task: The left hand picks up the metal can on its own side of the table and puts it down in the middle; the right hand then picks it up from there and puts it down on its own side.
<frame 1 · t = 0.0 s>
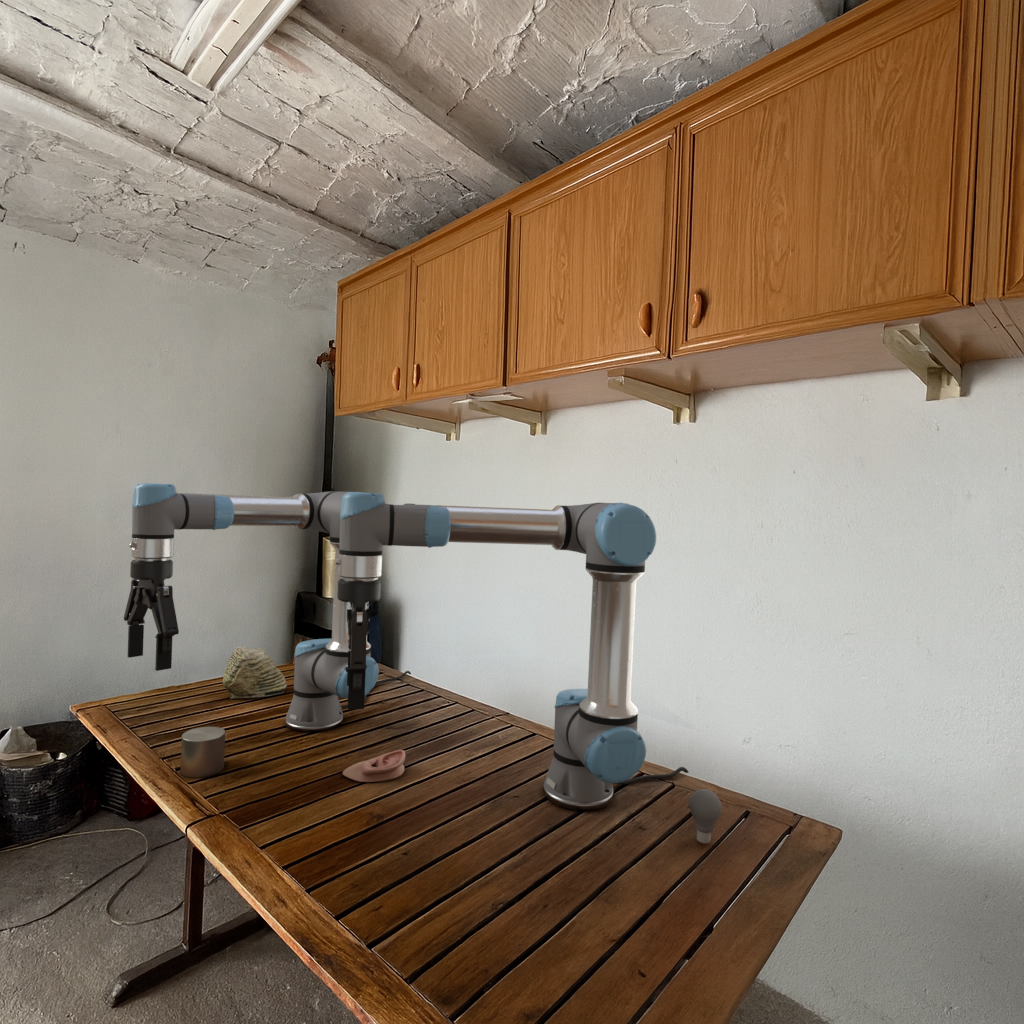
left hand: (148, 662, 129), 28 cm above the table, tool pointing down, fingers open, 13 cm apart
right hand: (355, 696, 114), 28 cm above the table, tool pointing down, fingers open, 13 cm apart
anatomical model: (374, 772, 146), on the table
can: (202, 768, 145), on the table
fossil: (254, 694, 198), on the table
light bulb: (703, 842, 122), on the table
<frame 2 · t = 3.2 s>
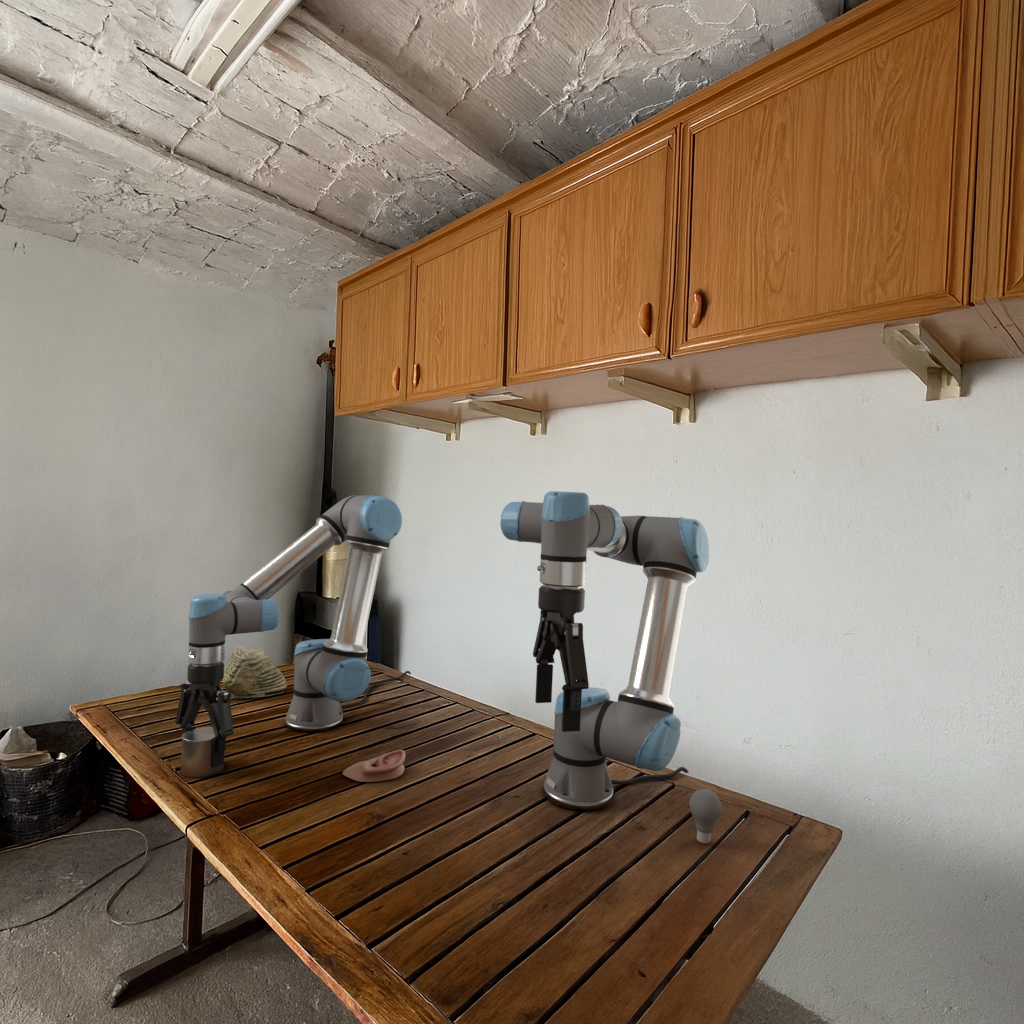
left hand: (202, 760, 145), 2 cm above the table, tool pointing down, fingers closed on can, 9 cm apart
right hand: (556, 715, 104), 30 cm above the table, tool pointing down, fingers open, 13 cm apart
can: (202, 768, 145), on the table, touching left hand
everything else where it was.
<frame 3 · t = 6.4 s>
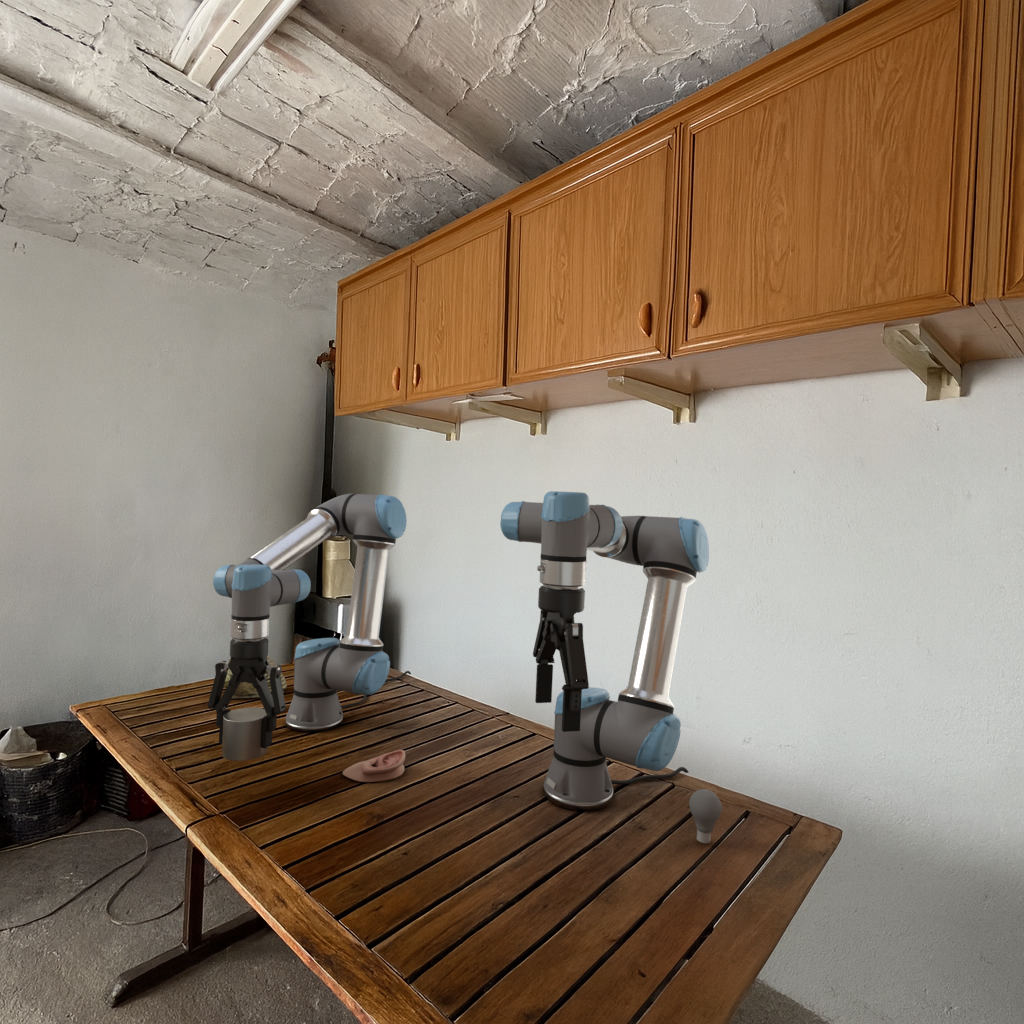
left hand: (245, 743, 134), 10 cm above the table, tool pointing down, fingers closed on can, 9 cm apart
right hand: (556, 715, 104), 30 cm above the table, tool pointing down, fingers open, 13 cm apart
can: (244, 752, 134), point 8 cm above the table, touching left hand
everything else where it was.
when the left hand's fingers open (3 cm above the table, at t = 9.8 s): can drops 2 cm, on the table.
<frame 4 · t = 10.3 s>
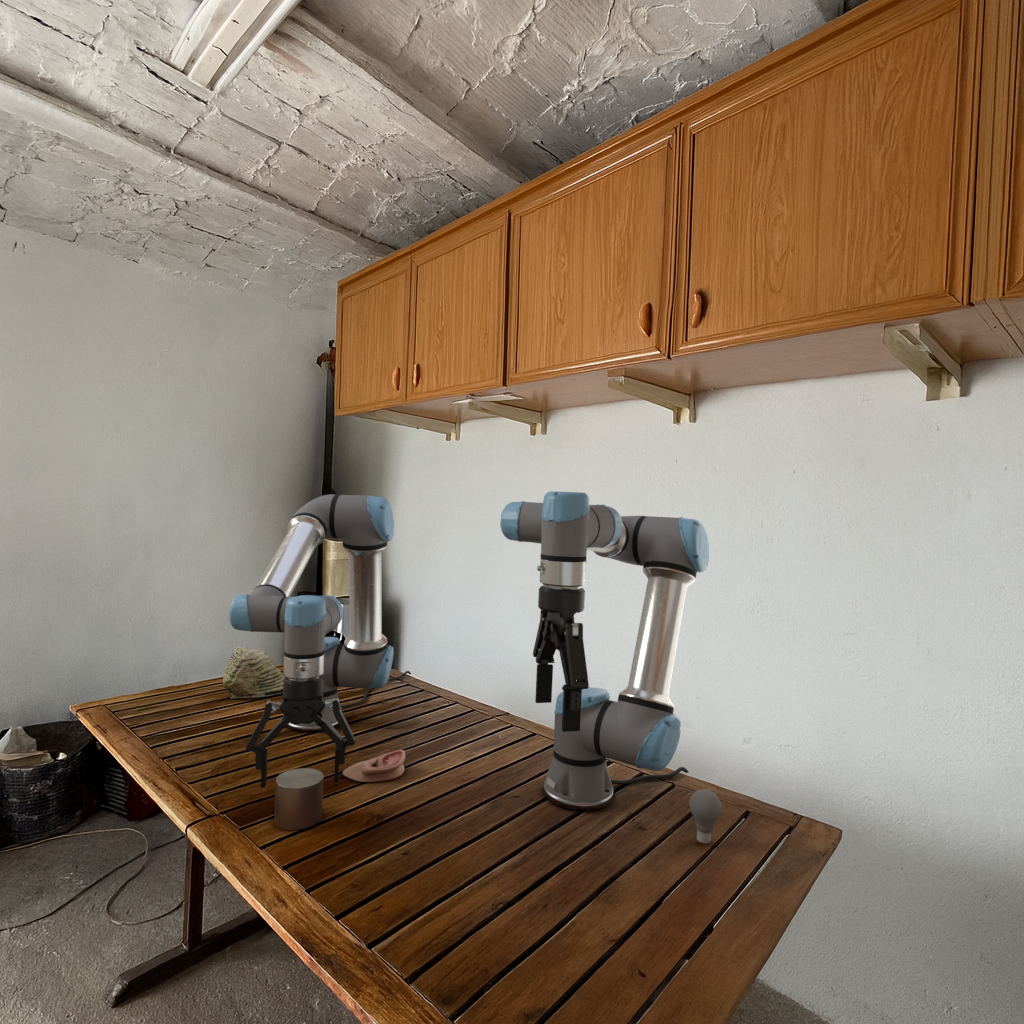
left hand: (300, 782, 125), 7 cm above the table, tool pointing down, fingers open, 13 cm apart
right hand: (556, 715, 104), 30 cm above the table, tool pointing down, fingers open, 13 cm apart
can: (298, 818, 124), on the table
everything else where it was.
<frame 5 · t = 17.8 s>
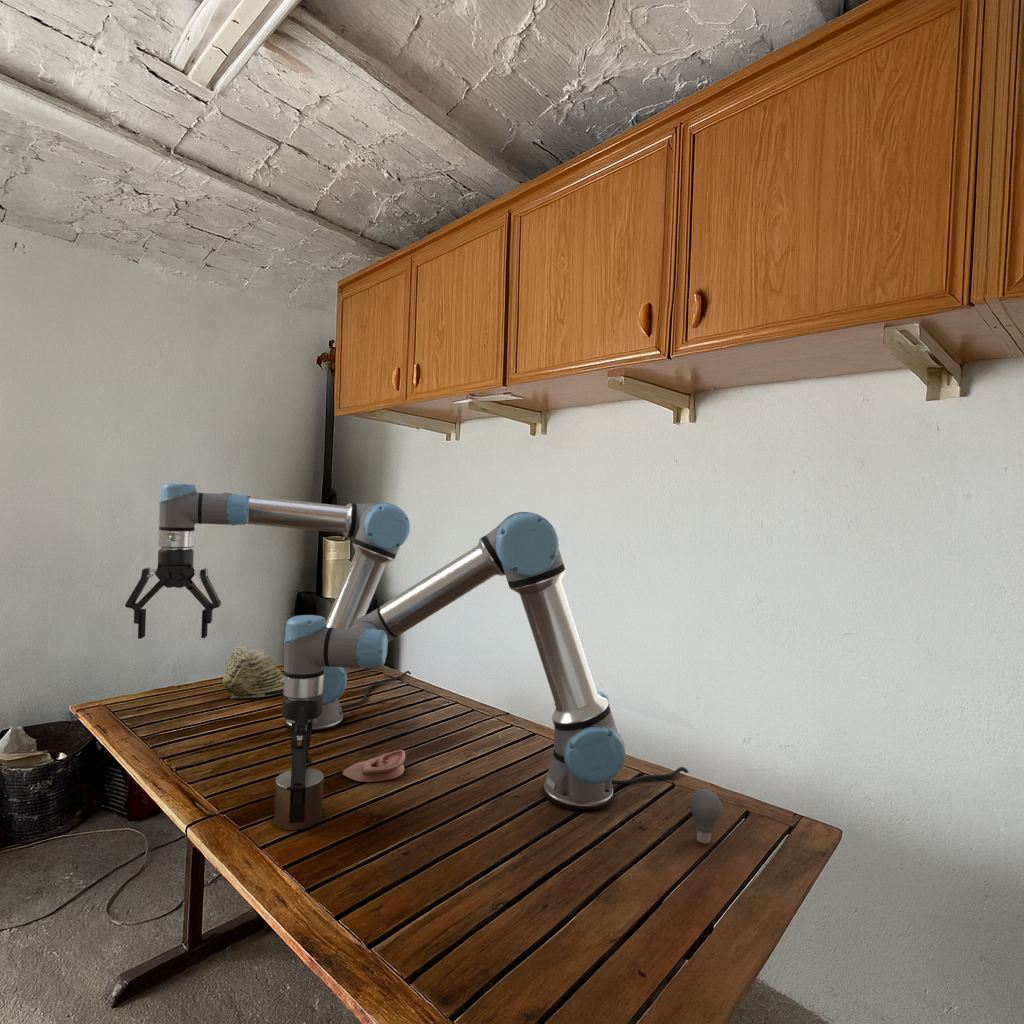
left hand: (173, 637, 151), 28 cm above the table, tool pointing down, fingers open, 13 cm apart
right hand: (298, 809, 124), 2 cm above the table, tool pointing down, fingers closed on can, 9 cm apart
can: (298, 818, 124), on the table, touching right hand
everything else where it was.
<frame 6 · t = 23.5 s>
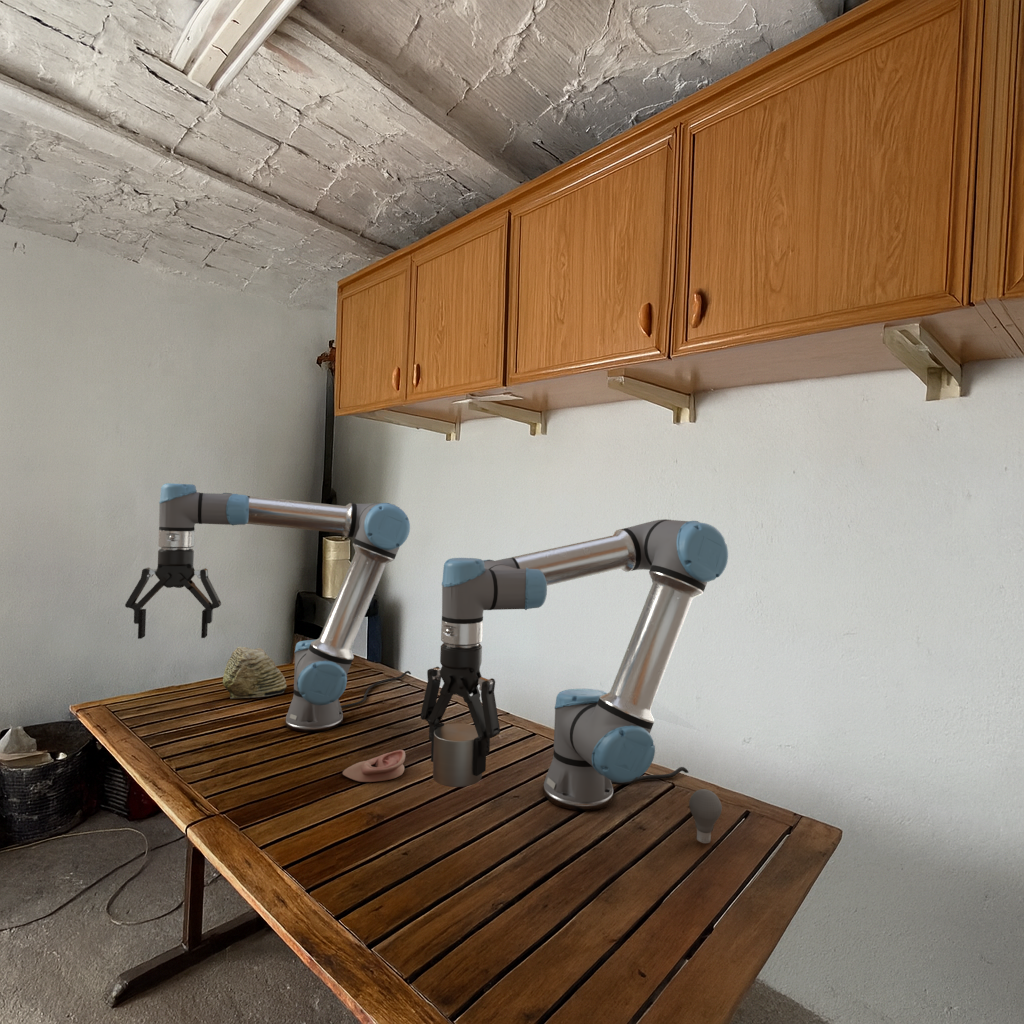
left hand: (173, 637, 151), 28 cm above the table, tool pointing down, fingers open, 13 cm apart
right hand: (457, 765, 116), 15 cm above the table, tool pointing down, fingers closed on can, 9 cm apart
can: (457, 776, 116), point 14 cm above the table, touching right hand
everything else where it was.
when the right hand's fingers open (3 cm above the table, at t = 29.5 s): can drops 2 cm, on the table.
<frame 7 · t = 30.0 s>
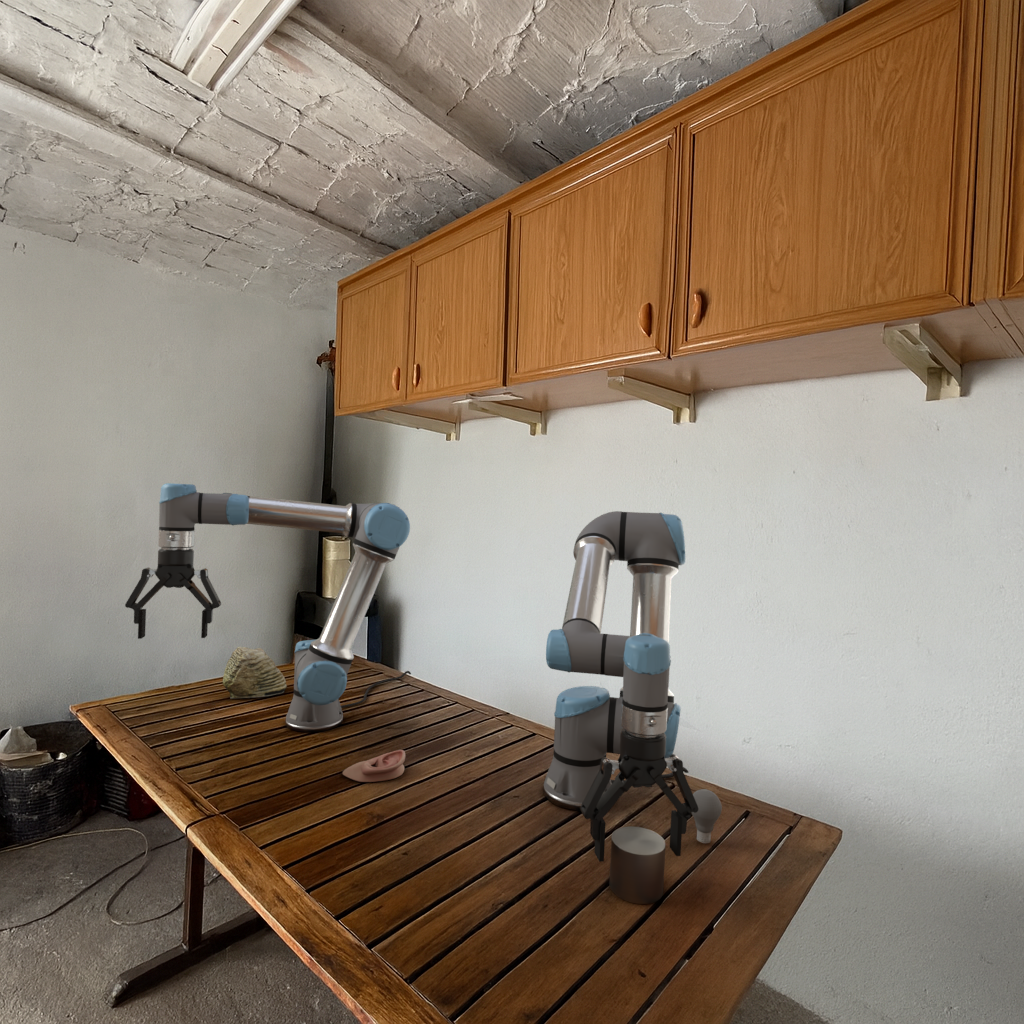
left hand: (173, 637, 151), 28 cm above the table, tool pointing down, fingers open, 13 cm apart
right hand: (637, 854, 107), 5 cm above the table, tool pointing down, fingers open, 13 cm apart
can: (636, 887, 107), on the table
everything else where it was.
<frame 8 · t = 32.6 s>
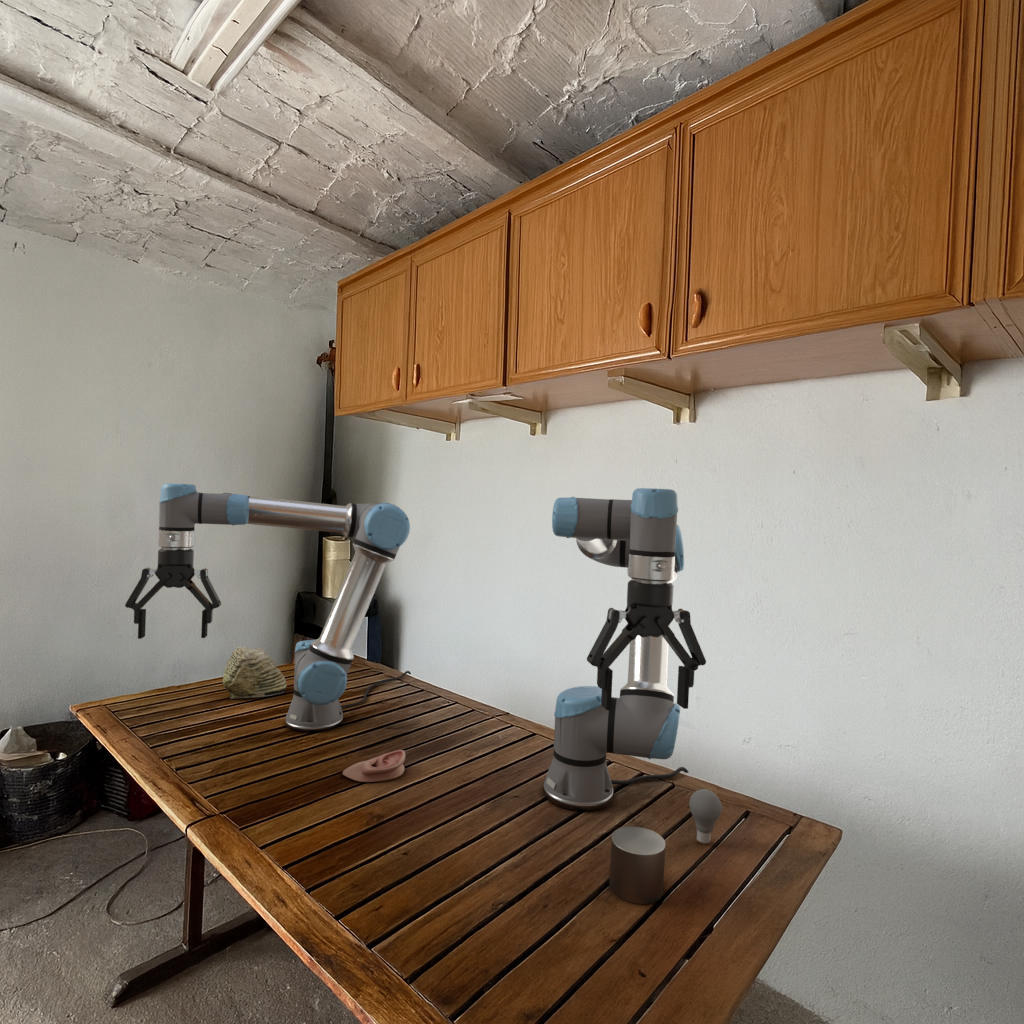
left hand: (173, 637, 151), 28 cm above the table, tool pointing down, fingers open, 13 cm apart
right hand: (644, 707, 106), 31 cm above the table, tool pointing down, fingers open, 13 cm apart
nothing on the table moved.
at the end: can inside the target area (0.1 cm from its centre), on the table; can tilted 0°; the two hands never held the can at the same time; the left hand is holding nothing; the right hand is holding nothing; can at rest at the end (0.0 cm/s) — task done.
